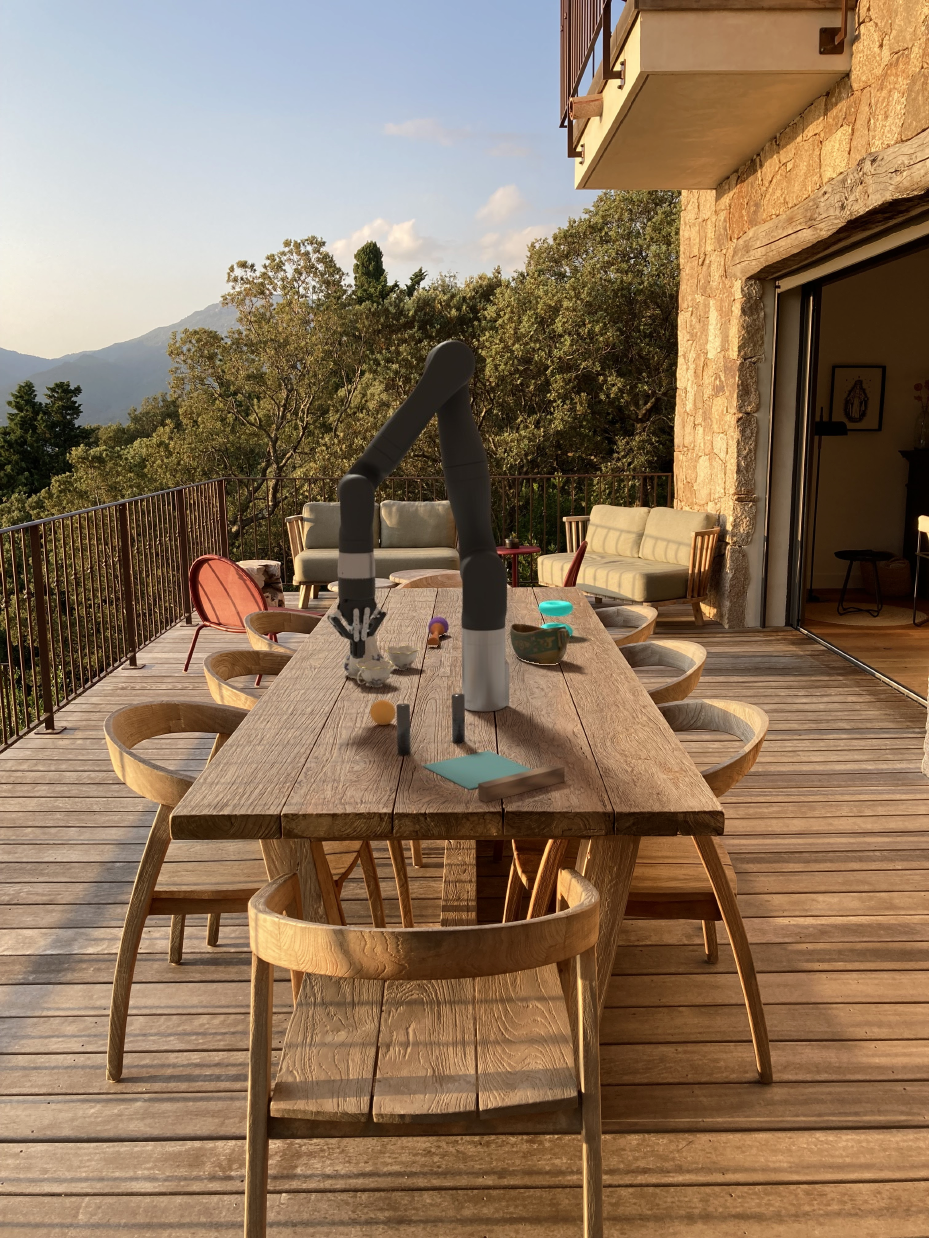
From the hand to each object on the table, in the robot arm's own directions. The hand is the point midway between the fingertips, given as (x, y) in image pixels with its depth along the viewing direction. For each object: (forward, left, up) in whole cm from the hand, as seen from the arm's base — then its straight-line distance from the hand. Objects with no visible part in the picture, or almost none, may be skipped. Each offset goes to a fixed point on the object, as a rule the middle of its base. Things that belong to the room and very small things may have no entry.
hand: (357, 657), depth 193 cm
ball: (0, +10, -9) cm, 13 cm away
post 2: (-6, +28, -12) cm, 31 cm away
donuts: (-85, -38, -12) cm, 94 cm away
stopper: (0, +55, -12) cm, 56 cm away
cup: (-61, -16, -12) cm, 65 cm away
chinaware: (-19, -27, -12) cm, 36 cm away
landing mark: (0, +43, -12) cm, 44 cm away
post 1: (+6, +28, -12) cm, 31 cm away
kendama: (-54, -54, -12) cm, 78 cm away
